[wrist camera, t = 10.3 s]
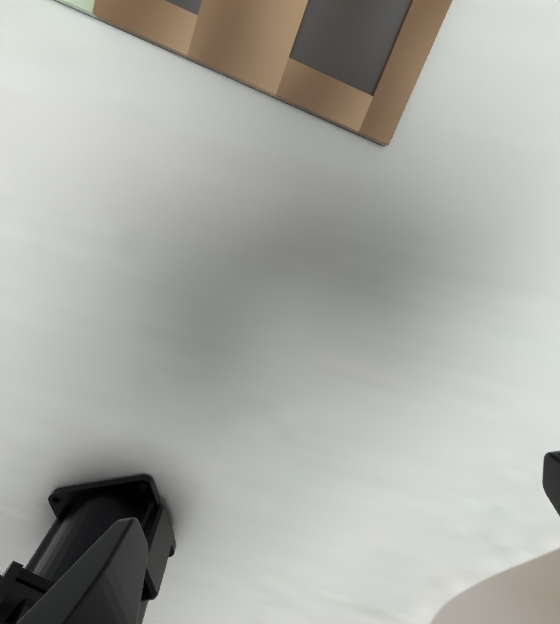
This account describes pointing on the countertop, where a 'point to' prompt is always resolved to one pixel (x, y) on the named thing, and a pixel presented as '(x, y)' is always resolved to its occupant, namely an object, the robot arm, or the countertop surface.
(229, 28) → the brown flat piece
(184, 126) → the countertop surface
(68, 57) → the countertop surface
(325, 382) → the countertop surface
